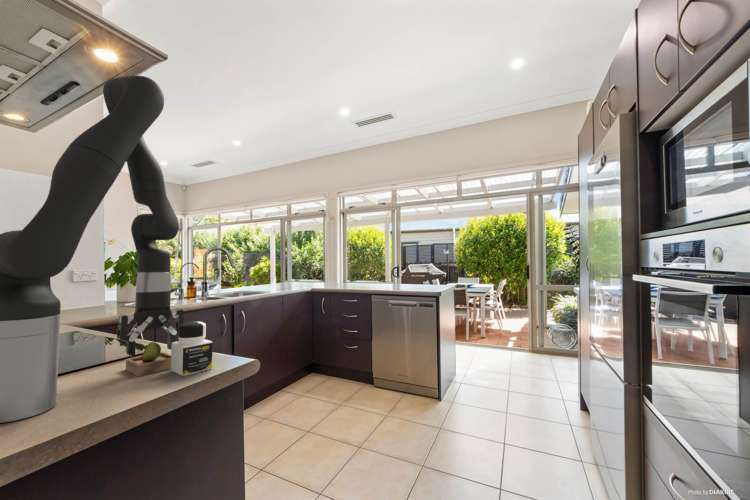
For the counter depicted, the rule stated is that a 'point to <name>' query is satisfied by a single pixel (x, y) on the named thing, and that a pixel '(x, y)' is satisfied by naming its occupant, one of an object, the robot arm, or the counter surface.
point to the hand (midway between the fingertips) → (151, 352)
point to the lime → (151, 352)
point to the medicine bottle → (191, 350)
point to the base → (148, 365)
